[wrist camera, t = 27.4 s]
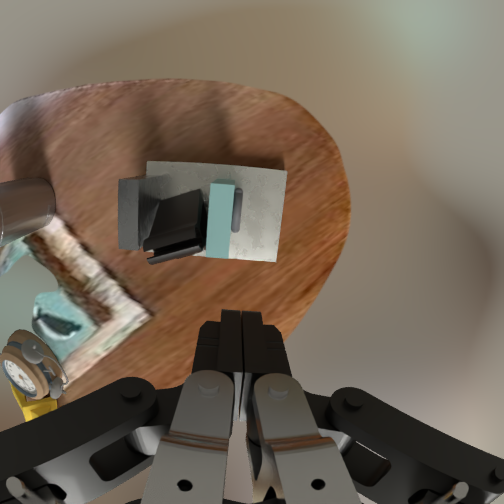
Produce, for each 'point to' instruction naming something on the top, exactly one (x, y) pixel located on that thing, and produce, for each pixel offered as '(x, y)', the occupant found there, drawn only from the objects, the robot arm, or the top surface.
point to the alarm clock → (32, 366)
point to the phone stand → (178, 228)
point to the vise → (200, 177)
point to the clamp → (34, 405)
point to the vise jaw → (222, 216)
